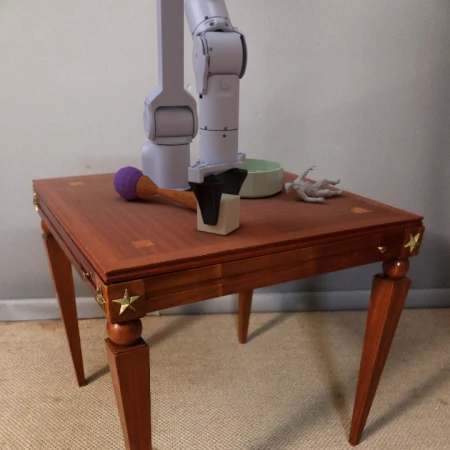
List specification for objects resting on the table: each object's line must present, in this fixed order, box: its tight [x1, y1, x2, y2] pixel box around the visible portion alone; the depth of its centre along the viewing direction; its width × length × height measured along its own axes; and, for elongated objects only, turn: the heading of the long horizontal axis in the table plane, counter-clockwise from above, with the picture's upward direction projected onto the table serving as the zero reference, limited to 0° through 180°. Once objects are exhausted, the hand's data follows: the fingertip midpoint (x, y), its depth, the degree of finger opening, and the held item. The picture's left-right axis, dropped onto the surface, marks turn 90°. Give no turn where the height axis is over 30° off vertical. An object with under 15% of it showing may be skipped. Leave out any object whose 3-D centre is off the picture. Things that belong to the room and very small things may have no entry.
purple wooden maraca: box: [113, 165, 197, 211], centre depth 90 cm, size 6×6×20 cm
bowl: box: [238, 157, 284, 199], centre depth 100 cm, size 14×14×5 cm
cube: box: [196, 193, 241, 236], centre depth 79 cm, size 5×5×5 cm
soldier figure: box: [284, 165, 344, 203], centre depth 96 cm, size 8×5×12 cm
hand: (218, 219), depth 79 cm, fingers closed on cube, 5 cm apart
